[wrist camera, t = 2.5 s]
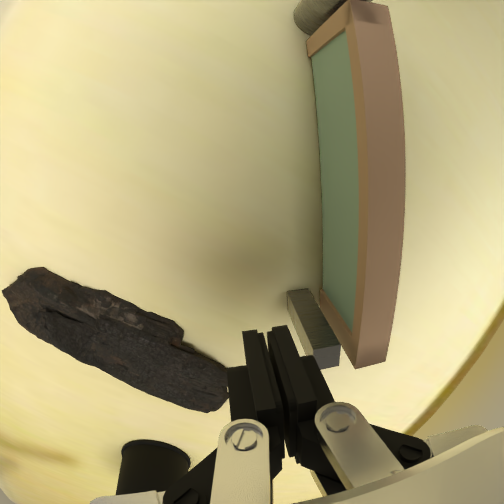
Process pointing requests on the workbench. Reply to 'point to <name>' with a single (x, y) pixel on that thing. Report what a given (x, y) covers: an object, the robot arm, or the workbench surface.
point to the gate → (360, 175)
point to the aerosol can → (150, 467)
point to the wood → (117, 339)
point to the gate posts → (301, 301)
